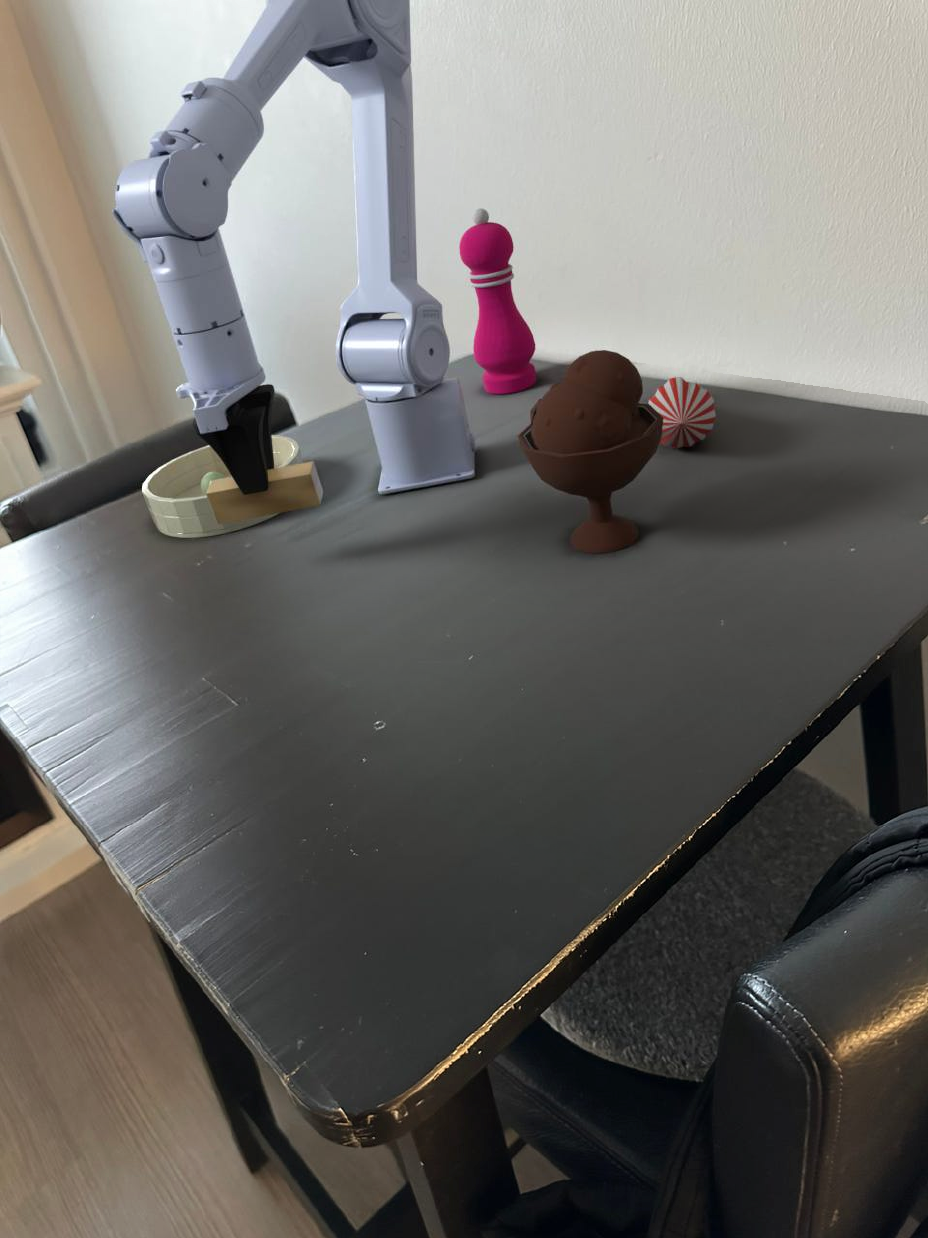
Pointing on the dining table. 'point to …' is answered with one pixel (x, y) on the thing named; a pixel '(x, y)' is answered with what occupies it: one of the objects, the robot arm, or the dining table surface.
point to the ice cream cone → (683, 412)
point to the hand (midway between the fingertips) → (259, 484)
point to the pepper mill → (497, 309)
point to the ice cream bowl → (594, 442)
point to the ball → (208, 478)
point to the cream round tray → (200, 491)
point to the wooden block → (267, 494)
